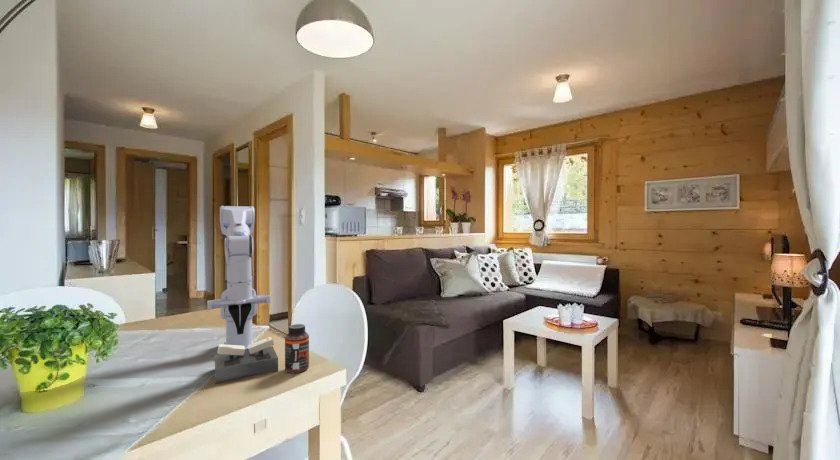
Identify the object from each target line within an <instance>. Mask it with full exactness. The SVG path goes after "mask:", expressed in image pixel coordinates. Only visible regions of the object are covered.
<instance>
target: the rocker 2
mask: <svg viewBox="0 0 840 460" xmlns="http://www.w3.org/2000/svg"><path fill="white" fill-rule="evenodd" d="M274 345H275V344H274V340H273V338H272V336H271V335H270V336H268V337H266V338H263V339H260V340H257V341H255V342H254V343H252V344H249V345H248V349H247V350H249V352H250V354H252V353H255V352H257V351H260V350H262V349H265V348H267V347H270V346H274Z"/></svg>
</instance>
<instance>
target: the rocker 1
mask: <svg viewBox="0 0 840 460" xmlns="http://www.w3.org/2000/svg"><path fill="white" fill-rule="evenodd" d="M217 347H218V348H217V354H218V355H222V354H226V355H244V352H245V351H246V350H245V347H244V346H241V345H225V344H224V343H223V344H222V343H220V344H218V346H217Z"/></svg>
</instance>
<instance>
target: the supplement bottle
mask: <svg viewBox="0 0 840 460" xmlns="http://www.w3.org/2000/svg"><path fill="white" fill-rule="evenodd" d="M309 367H310V335H309V334H308V333H307V332H306V325H305V324H301V323H298V324H297V323H296V324H292V325H289V326H288V333H287V334H286V335H285V338H284V370H285V371H286V372H287V373H291V374H297V373H302V372H305V371H307V370H308V368H309Z"/></svg>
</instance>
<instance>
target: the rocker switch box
mask: <svg viewBox="0 0 840 460" xmlns="http://www.w3.org/2000/svg"><path fill="white" fill-rule="evenodd" d="M277 372H279V357H278V354H277V353H276V350H275V349H274V345H272V346H270V347H267V348H265V349H262V350H260V351H257V352H255V353H252V354H250V352H249V349H246V350H245V352H244V355H226V354H218V355H214V383H215V384H214V385H216V384H222V383H226V382H232V381H237V380H242V379H246V378H252V377H257V376H263V375H266V374H273V373H277Z"/></svg>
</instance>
